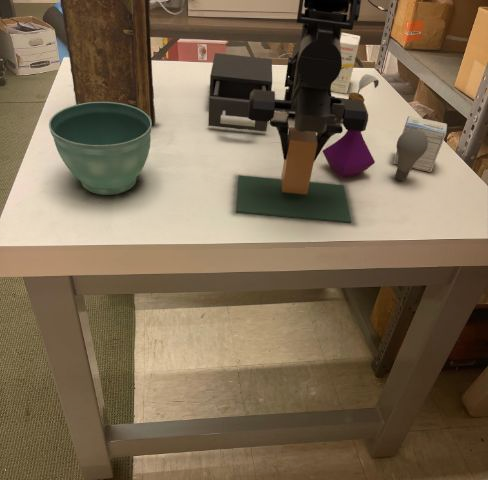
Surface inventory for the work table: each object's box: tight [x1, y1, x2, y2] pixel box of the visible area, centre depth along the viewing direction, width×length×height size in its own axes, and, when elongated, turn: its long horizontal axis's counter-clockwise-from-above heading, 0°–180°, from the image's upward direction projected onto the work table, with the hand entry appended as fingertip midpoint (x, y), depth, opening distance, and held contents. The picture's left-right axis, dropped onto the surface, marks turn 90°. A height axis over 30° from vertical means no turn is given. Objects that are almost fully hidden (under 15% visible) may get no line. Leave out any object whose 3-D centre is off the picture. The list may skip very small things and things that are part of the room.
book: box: [59, 0, 156, 126], centre depth 96 cm, size 17×7×25 cm, turn 62°
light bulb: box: [394, 129, 428, 181], centre depth 94 cm, size 6×6×10 cm
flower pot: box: [48, 102, 153, 196], centre depth 84 cm, size 16×16×11 cm
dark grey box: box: [209, 52, 273, 97], centre depth 115 cm, size 15×14×8 cm
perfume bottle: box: [322, 73, 380, 179], centre depth 91 cm, size 8×8×18 cm
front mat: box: [235, 174, 352, 224], centre depth 89 cm, size 20×12×1 cm, turn 88°
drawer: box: [207, 80, 268, 133], centre depth 106 cm, size 18×12×6 cm
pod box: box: [280, 126, 318, 194], centre depth 85 cm, size 4×5×10 cm
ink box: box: [331, 32, 361, 94], centre depth 126 cm, size 9×8×12 cm
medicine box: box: [393, 115, 448, 173], centre depth 100 cm, size 8×4×9 cm, turn 71°
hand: (298, 159), depth 85 cm, fingers closed on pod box, 4 cm apart
